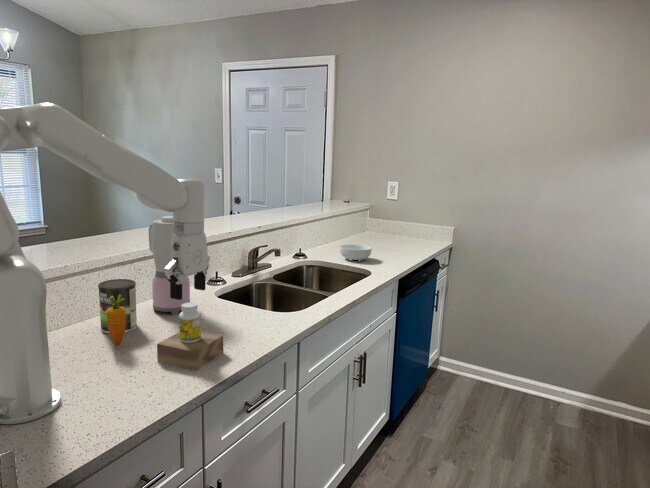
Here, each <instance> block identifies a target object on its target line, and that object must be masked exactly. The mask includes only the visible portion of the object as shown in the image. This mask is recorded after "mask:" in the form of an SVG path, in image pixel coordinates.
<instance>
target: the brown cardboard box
mask: <svg viewBox="0 0 650 488" xmlns="http://www.w3.org/2000/svg"><path fill="white" fill-rule="evenodd" d="M156 349H157V350H156V351H157V354H156V355H157V363H161V364H165V365H169V366H173V367H178V368H182V369H187V370H192V371H195V372H198V371H200V369H202V368H203V367H205V366H206V365H208V364H209V363H210V362H211V361H214V360H215V359H216V358H217V357H219V356H220V355H221V354H223V353H224V334H220V333H219V334H218V333H213V332H208V331H203V330H201V339H200V340H199V341H197V342H194V343H184V342H181V341H180V331H178V332H177V333H174V334H173V335H171V336H169V337H168V338H165V339H164V340H161V341H159V342H158V343H157V344H156Z"/></svg>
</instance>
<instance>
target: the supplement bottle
mask: <svg viewBox="0 0 650 488" xmlns="http://www.w3.org/2000/svg"><path fill="white" fill-rule="evenodd" d="M180 311H181V312H180V313H178V324H179V327H178V329H179V331H178V332H180V341H181V342H184V343H194V342H197V341H199V340H200V339H201V331H202V326H201V324H202V323H201V313H200V311H198V304H197V303H196V302H190V303H184V304H182V305H181V310H180Z"/></svg>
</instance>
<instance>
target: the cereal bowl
mask: <svg viewBox="0 0 650 488" xmlns="http://www.w3.org/2000/svg"><path fill="white" fill-rule="evenodd" d="M339 253H340V255H341V256H342V257H343V258H345V259H347V260H348V259H351V260H362V261H364V260H366V259H368V258H369V257H370V256H371V254H372V247H370V246H369V245H365V244H354V243H353V244H342V245H340V246H339Z"/></svg>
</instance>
